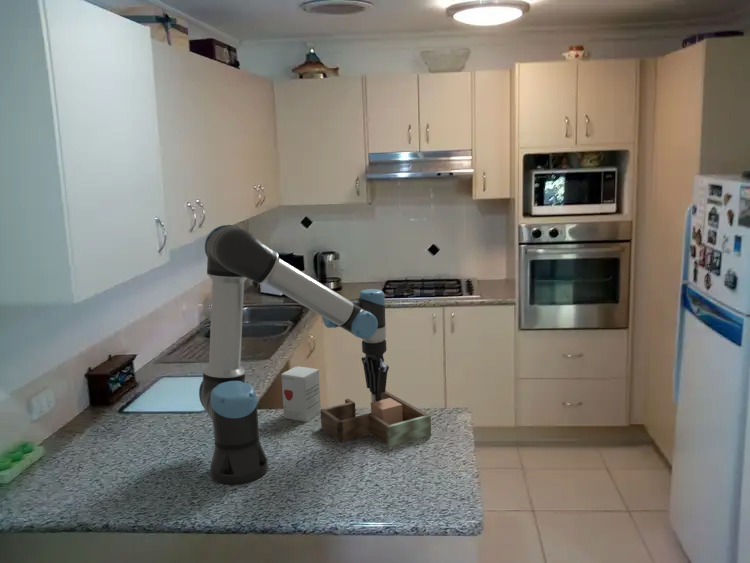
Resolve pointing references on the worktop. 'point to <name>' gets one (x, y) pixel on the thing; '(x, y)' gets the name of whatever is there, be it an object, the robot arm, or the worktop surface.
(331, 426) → the frame
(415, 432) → the low walled maze tray
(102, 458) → the worktop surface
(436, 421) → the worktop surface
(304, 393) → the supplement box
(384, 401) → the block
